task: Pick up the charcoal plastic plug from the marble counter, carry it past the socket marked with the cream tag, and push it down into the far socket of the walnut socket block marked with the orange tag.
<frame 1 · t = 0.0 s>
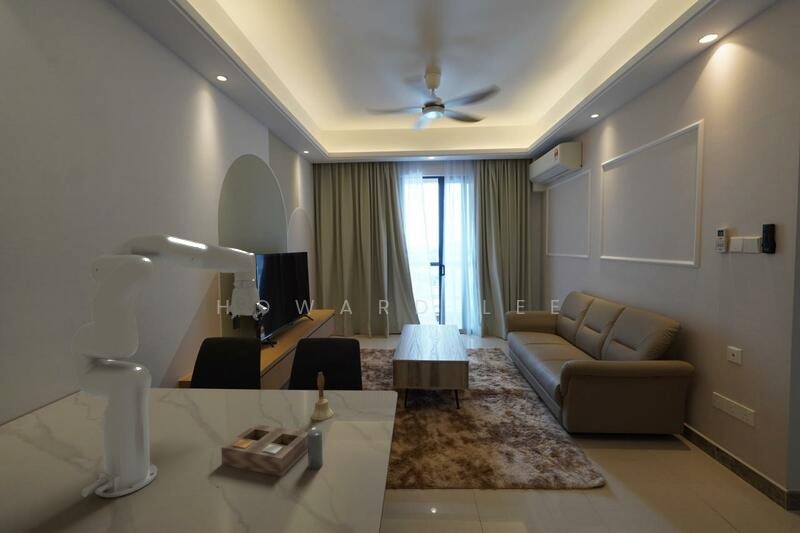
hand: (247, 329, 134), 31 cm above the table, tool pointing down, fingers open, 9 cm apart
socket block: (267, 456, 103), on the table
hand bell: (322, 415, 129), on the table
plug: (315, 465, 98), on the table
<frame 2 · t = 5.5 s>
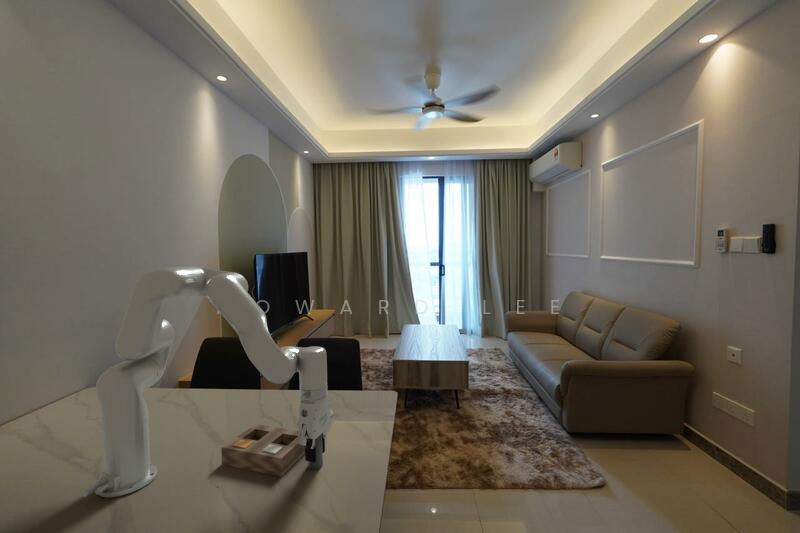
hand: (315, 455, 98), 3 cm above the table, tool pointing down, fingers closed on plug, 4 cm apart
plug: (315, 465, 98), on the table, touching gripper
everything else where it was.
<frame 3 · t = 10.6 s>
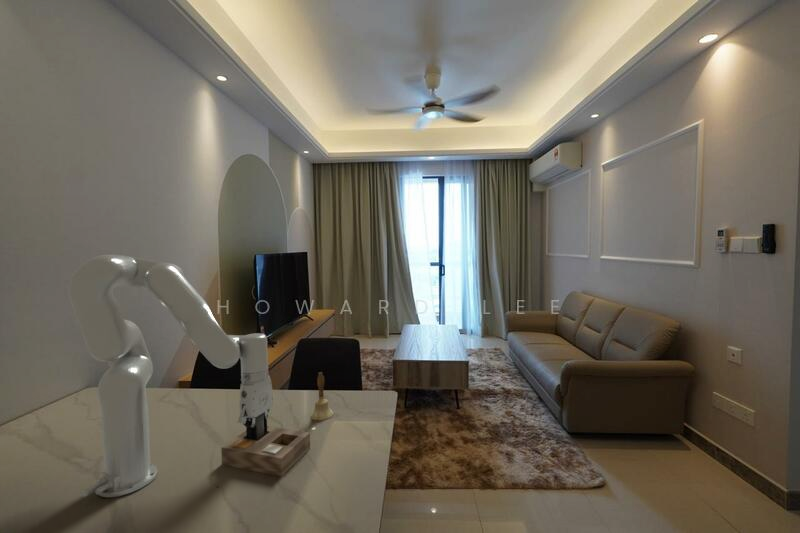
hand: (257, 434, 105), 5 cm above the table, tool pointing down, fingers closed on plug, 3 cm apart
plug: (257, 443, 106), point 2 cm above the table, touching gripper
everything else where it was.
when the fingers open (5 cm above the table, at t = 12.3 s): plug drops 1 cm, resting on socket block.
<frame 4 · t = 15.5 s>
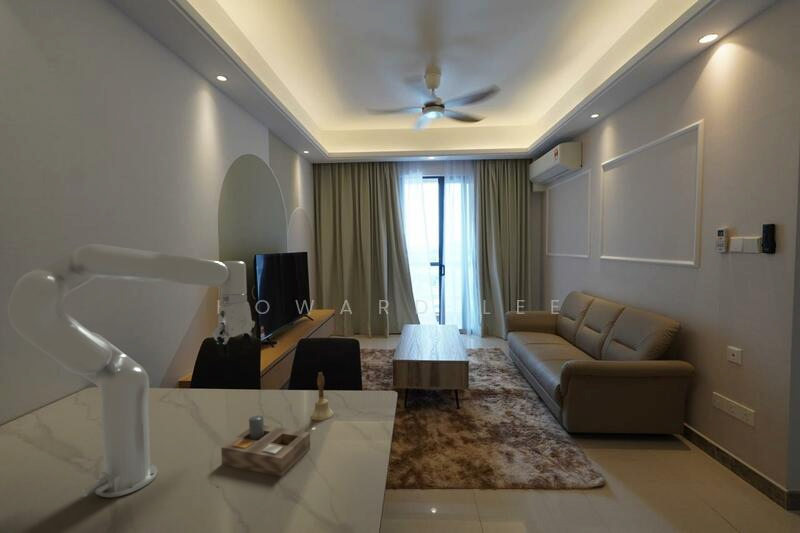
hand: (235, 352, 112), 28 cm above the table, tool pointing down, fingers open, 9 cm apart
plug: (257, 447, 105), point 1 cm above the table, touching socket block
everything else where it was.
at the end: plug 0.1 cm from the target spot on the socket block, point 1.0 cm above the socket block's base; plug tilted 0°; the gripper is holding nothing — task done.
